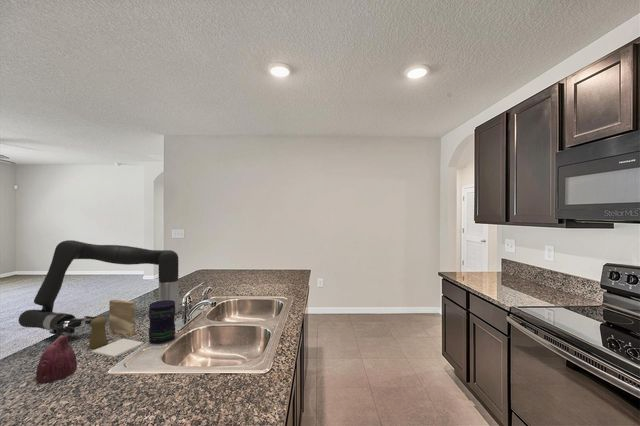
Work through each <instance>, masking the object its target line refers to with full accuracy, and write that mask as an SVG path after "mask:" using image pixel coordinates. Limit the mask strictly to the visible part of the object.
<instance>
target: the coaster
mask: <svg viewBox="0 0 640 426" xmlns="http://www.w3.org/2000/svg"><path fill="white" fill-rule="evenodd" d="M143 345H145V342H142V341H138V340H132V339H126V338H120V339H118V340H115V341H113V342H111V343H108V344H107V345H106V346H103V347H101V348H98V349H92V351H91V353H92V354H95V355H100V356H106V357H110V358H117V357H119V356H121V355H123V354H126V353H127V352H130V351H133V350H135V349H136V348H139V347H141V346H143Z"/></svg>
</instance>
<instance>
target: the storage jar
mask: <svg viewBox="0 0 640 426" xmlns="http://www.w3.org/2000/svg"><path fill="white" fill-rule="evenodd" d="M148 308H149V309H148V319H149V328H148V338H149V339H148V343H149V342H150V343H149V344H152V345H161V344H166V343H169V342H172V341H174V340H175V338H176V324H175V322H176V321H175V318H176V317H175V316H176V314H175V301H172V300H164V301H159V300H158V301H155V302H151V303H150V304H149V305H148Z"/></svg>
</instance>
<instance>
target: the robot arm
mask: <svg viewBox="0 0 640 426" xmlns="http://www.w3.org/2000/svg"><path fill="white" fill-rule="evenodd" d="M74 260H92V261H93V260H95V261H98V262H99V261H100V262H103V263H108V264H115V265H129V266H130V265H142V264H143V265H144V264H145V265H146V264H147V265H157V266H158V301H164V300H172V301H175V315H177V314H178V313H179V312H180V309H181V305H180V303H181V299H180V297H181V296H180V293H179V255H178V253H177V252H176V251H174V250H169V249H168V250H167V249H165V250H164V249H163V250H160V249H159V250H158V249H156V250H155V249H147V248H142V247H136V246H128V245H121V244H120V245H118V244H94V243H93V244H92V243H87V242H82V241H78V240H63V241H61V242H59V243H58V244H56V247H55V249H54V253H53V256H52V259H51V263H50V266H49V268H48V271H47V273H46V276H45V277H44V279H43V282H42V283H41V285H40V287H39V288H38V291H37V293H36V295H35V296H34V300H33V303H34V304H35V305H37V306H41V307H42V308H41V309H28V310H25V311H23V312H22V313H21V314H20V315H19V317H18V323H19V325H20V326H21V327H24V328H38V329H43V330H47V331H49V334H51V335H55V336H60V335H62V334H63V333H65V334H71V335H73V334H74V333H76V331H75V329H77V328H84V327H86V326H91V325H90V322H91V320H92V319H94V318H97V317H96V316H89V315H85V316H84V317H81V318H78V317H76V316H75V315H74V314H72V313H64V312H55V311H54V304H55V301H56V300H57V297H58V295H59V293H60V291H61V289H62V285H63V283H64V278H65V275H66V273H67V270H68V269H69V267H70V265H71V264H72V262H73V261H74Z"/></svg>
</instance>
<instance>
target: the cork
mask: <svg viewBox="0 0 640 426" xmlns="http://www.w3.org/2000/svg"><path fill="white" fill-rule="evenodd" d="M107 322H108V321H107V318H106V317H105V316H99V317H96V318H94V319H92V320H91V322H90V325H89V326H90V327H91V332H90V337H89V344H88V349H90V350H96V349H98V348H101V347H103V346H106V345H108V344H109V343H108V338H107V332H106V325H107Z"/></svg>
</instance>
